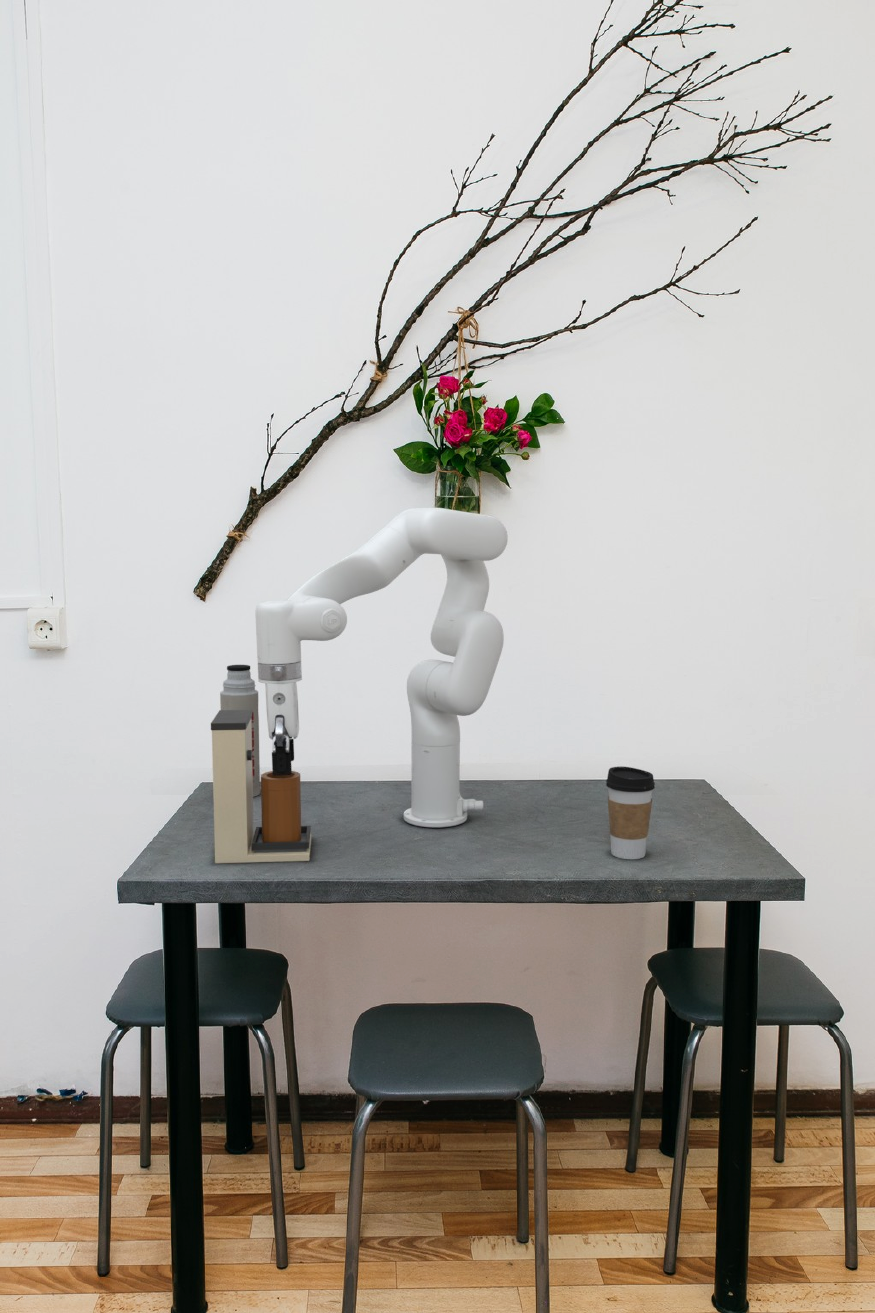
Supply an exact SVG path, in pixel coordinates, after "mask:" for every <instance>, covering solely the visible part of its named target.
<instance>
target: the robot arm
mask: <svg viewBox="0 0 875 1313" xmlns="http://www.w3.org/2000/svg"><path fill="white" fill-rule="evenodd" d="M508 537H509V536H508V531H507V529H506V526H505V525H504V523H503V522H502V521H501V520H500V519H498V518H497V517H495V516H494V515H488V514H483V513H474V512H468V511H462V510H455V509H449V508H445V507H444V508H443V507H412V508H408V509H405V510H403V511H401V512H399V513H398V514H397V515H396V516H395V517H393V518H392V519H391V520H390V521H389V522H388V523H386V524H385V525H384V526H383V527H382V528H381V529H380V530H379V531H377V532H376V533H375V534H374V535H373V536H372V537H371V538H370V539H368V540H367V541H366V542H365V543H364V544H363V545H362V546H360V547H359V548H358V549H356V550H355V551H354V552H353V553H350V554H349V555H347V556H345V557H343V558H342V559H340V560H339V561H337V562H335V563H333V564H331V565H330V566H328V567H326V568H324V569H323V570H321V571H320V572H317V573H316V574H315V575H313V576H312V577H311V578H309V579H308V580H307V581H306V582H305V583H303V584H302V585H301V586H300V587H299V588H297V590H295V591H294V592H293V593H292V594H291V595H290V596H289V597H288V599H287V600H268V601H267V600H266V601H261V602H260V603H258V604H257V605H256V607H255V634H256V654H257V656H256V657H257V681H258V682H259V683H262V684H265V685H264V686H265V705H266V706H265V708H266V720H267V721H266V722H267V728H268V738H269V739H270V740H272V752H271V768H272V770H271V771H273V775H274V776H280V775H291V773H292V771H293V770H292V762H294V761H295V743H294V742H295V741H294V740H295V739H297V738H298V736H299V732H300V717H299V698H298V696H299V695H298V684H297V682H300V681H302V680H303V671H302V670H303V668H302V644H301V642H302V641H316V642H326V641H327V642H328V641H332V640H334V639H336V638H338V637H340V636H341V635H342V633H343V632H344V631H345V629H346V627H347V624H348V616H347V612H346V610H345V608H344V607H343V605H342V604H344V603H345V602H347V601H350V600H352V599H354V598H358V597H361V596H364V595H369V594H372V593H375V592H378V591H380V590H382V589H384V588H386V587H388V586H389V585H390V584H392V583H393V581H394V580H396V579H397V578H398V577H399V576H400V575H401V574H402V573H403V572H404V571H405V570H406V569H408V568H409V567H410V566H411V565H412V564H413V563H414V562H415V561H417V559H418V558H420V557H421V556H422V555H424V554H425V555H426V554H427V555H440V556H441V558H442V560H443V563H444V565H445V569H446V584H445V588H444V592H443V594H442V597H441V600H440V603H439V606H438V609H437V612H436V615H435V618H434V621H433V623H432V627H431V630H430V644H431V645H432V647H433V648H434V649H435V651H437V652H439V653H440V654H442V655H446V656H449V657H454V660H453V662H451V661H446V660H440V659H427V660H426V659H425V660H423V661H420V662H418V663H417V664H415V665H414V666H413V667H412V669H411V670H410V671H409V674H408V676H407V680H406V694H407V700H408V705H409V712H410V724H411V746H410V747H411V754H410V755H411V765H410V766H411V770H410V771H411V772H410V773H411V775H410V776H411V777H410V778H411V781H410V784H411V786H410V788H411V789H410V790H411V793H410V794H411V796H410V797H411V798H410V800H411V801H410V803H411V807H409V808H407V809H406V810H404V812H403V820H404V821H405V822H406V823H407V824H410V825H413V826H416V827H421V828H422V827H423V828H449V827H454V826H459V825H461V824H463V823H465V822H466V821H467V820H468V811H475V812H476V811H478V812H479V811H484V800H476V799H475V798H467V799H466V798H464V797H462V795H461V792H460V785H461V784H460V783H461V782H460V781H461V780H460V778H461V775H460V773H461V769H460V768H461V766H460V764H461V762H460V761H461V760H460V759H461V727H460V722H459V718H458V716H459V717H466V716H470V715H471V716H472V715H473V714H475V713H476V712H478V711H479V709H480V708H481V707H482V706H483V704H484V703H485V701H486V699H487V697H488V694H489V691H490V688H491V685H492V683H493V679H494V676H495V673H496V670H497V667H498V664H499V661H500V658H501V655H502V653H503V652H502V651H503V648H504V641H505V639H504V638H505V637H504V636H505V635H504V629H503V626H502V623H501V621H500V620H499V618H497V616H496V615H494V614H493V613H491V612H489V611H485V608H486V603H487V600H488V596H489V592H490V578H489V573H488V569H487V567H486V564H485V562H487V561H488V562H489V561H493V560H495V559H497V558H499V557H500V556H501V555H502V554H503V553H504V551H505V550H506V548H507V545H508V540H509V538H508Z"/></svg>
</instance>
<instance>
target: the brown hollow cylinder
mask: <svg viewBox="0 0 875 1313" xmlns="http://www.w3.org/2000/svg"><path fill="white" fill-rule="evenodd" d="M301 788H302V787H301V772H299V771H296V770H295V771H294V770H292V773H291V775H280V776H274V775H273V771H272V770H270V771H266V772H264V773H261V774H260V800H261V802H260V803H261V808H260V809H261V827H262V842H297V841H301V826H302V803H301V802H302V798H301V796H302V795H301Z"/></svg>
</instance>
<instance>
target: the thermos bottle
mask: <svg viewBox="0 0 875 1313" xmlns="http://www.w3.org/2000/svg"><path fill="white" fill-rule="evenodd" d="M226 670H227V675H226V679H225V680H223V683H222V688H223V689H222V690H221V691H220V693H219V697H220V698H219V699H220V710H252V717H251V725H252V776H253V798H254V797H257V796H259V795H261V772H260V771H261V770H260V769H261V768H260V765H261V764H260V717H259V716H260V714H259V691H258V690H257V689H256V686H257V685H256V682H255V680H254V679H253V678H252V677H251V674H252V673H251V665H249V664H230V665H227V666H226Z"/></svg>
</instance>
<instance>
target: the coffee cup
mask: <svg viewBox="0 0 875 1313" xmlns="http://www.w3.org/2000/svg"><path fill="white" fill-rule="evenodd" d="M654 780H655V778H654V774H653V773H651V771H650V772H649V771H647V770H644V769H639V768H636V767H635V768H634V767H630V766H622V765H621V766H612V767H609V769H608V772H607V778H606V780H605V781H606V782H605V786H606V787H607V788H608V789H607V790H608V796H607V808H608V822H609V834H610V836H609V837H610V853H611V855H612V856H614V857H615V858H619V859H623V860H641V859H643V858H645V856H646V850H647V844H648V843H647V842H648V835H649V828H650V820H651V813H652V805H653V798H652V795H653V790H655V785H656V784H655V781H654Z"/></svg>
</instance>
